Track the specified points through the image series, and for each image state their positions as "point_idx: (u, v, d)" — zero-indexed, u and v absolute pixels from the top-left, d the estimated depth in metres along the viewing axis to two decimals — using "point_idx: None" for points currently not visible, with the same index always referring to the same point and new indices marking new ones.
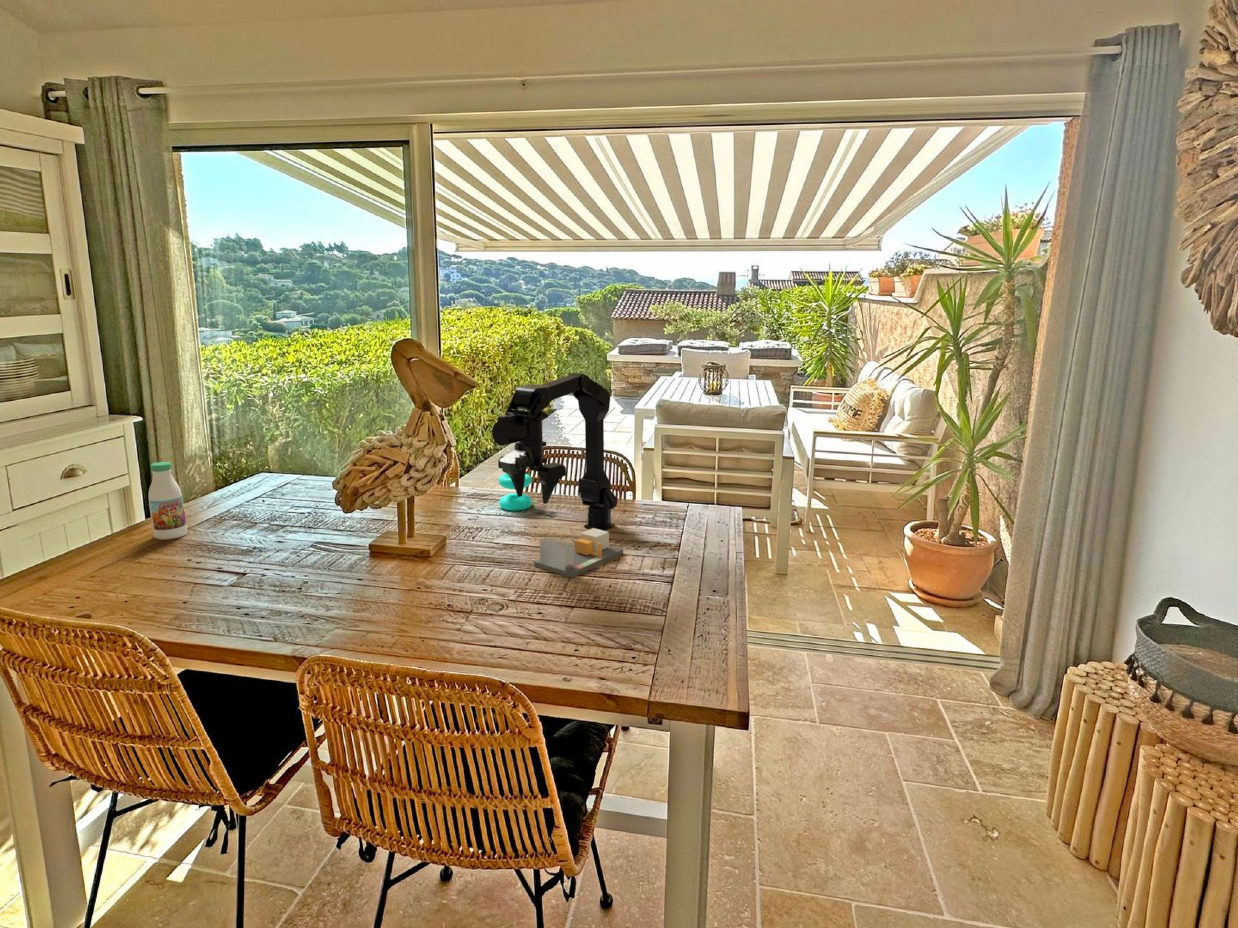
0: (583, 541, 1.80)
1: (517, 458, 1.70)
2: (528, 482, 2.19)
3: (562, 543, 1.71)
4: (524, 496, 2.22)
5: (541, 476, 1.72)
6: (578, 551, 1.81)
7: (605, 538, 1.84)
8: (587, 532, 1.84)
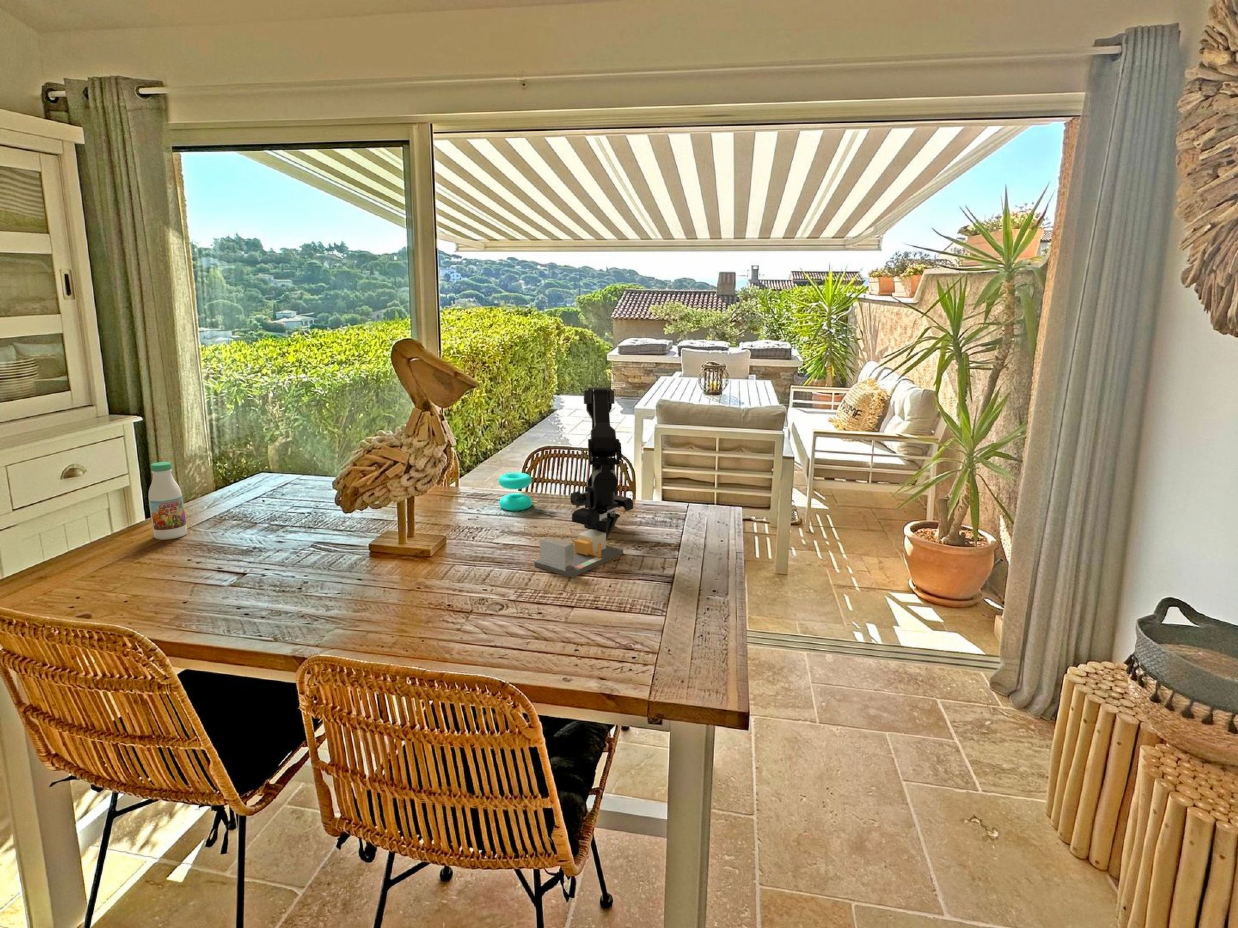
0: (582, 541, 1.80)
1: None
2: (528, 482, 2.19)
3: (562, 543, 1.71)
4: (524, 496, 2.22)
5: None
6: (578, 552, 1.81)
7: (602, 539, 1.83)
8: (584, 533, 1.83)
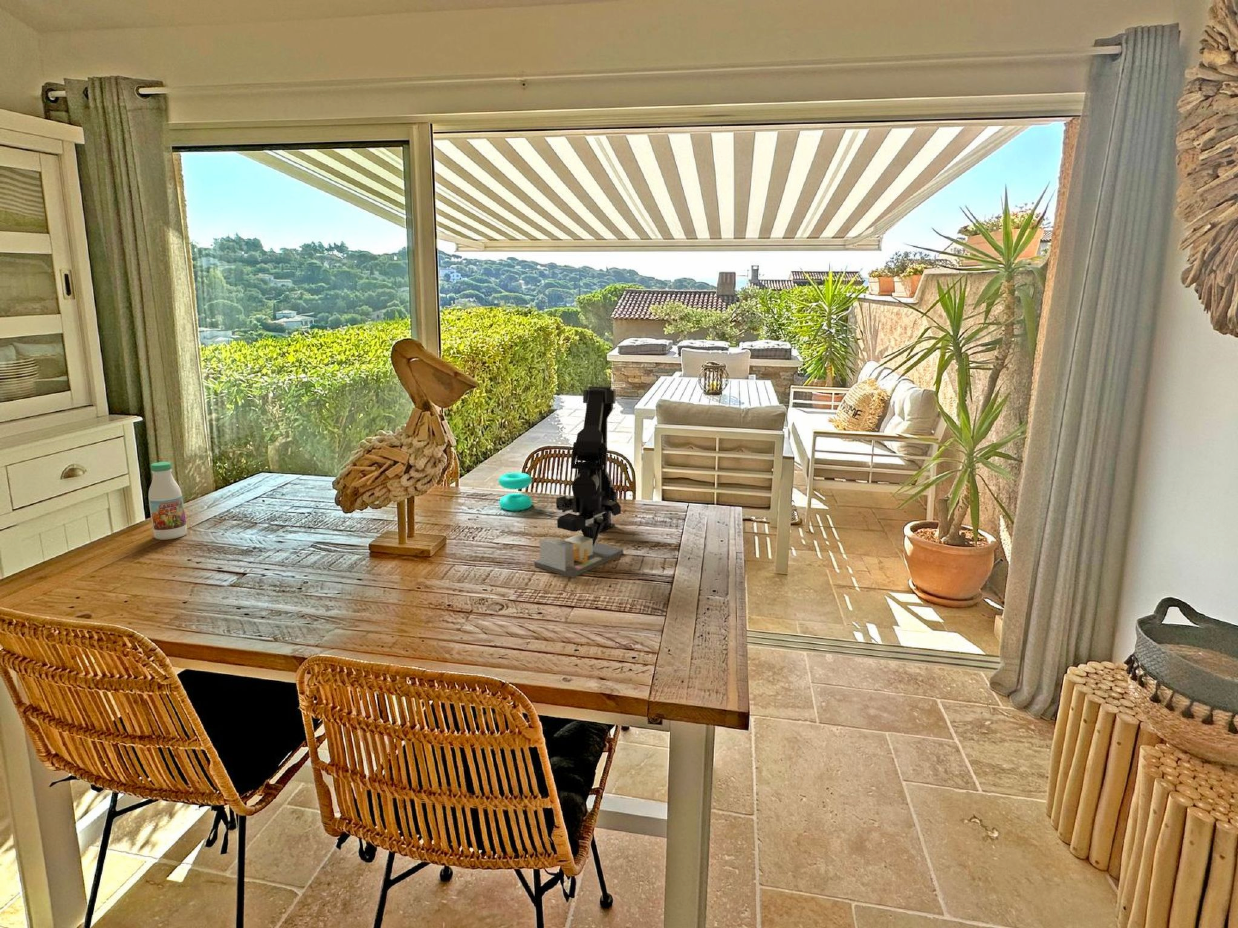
0: None
1: None
2: (528, 482, 2.19)
3: (562, 543, 1.71)
4: (524, 496, 2.22)
5: None
6: None
7: (589, 545, 1.79)
8: (570, 539, 1.79)
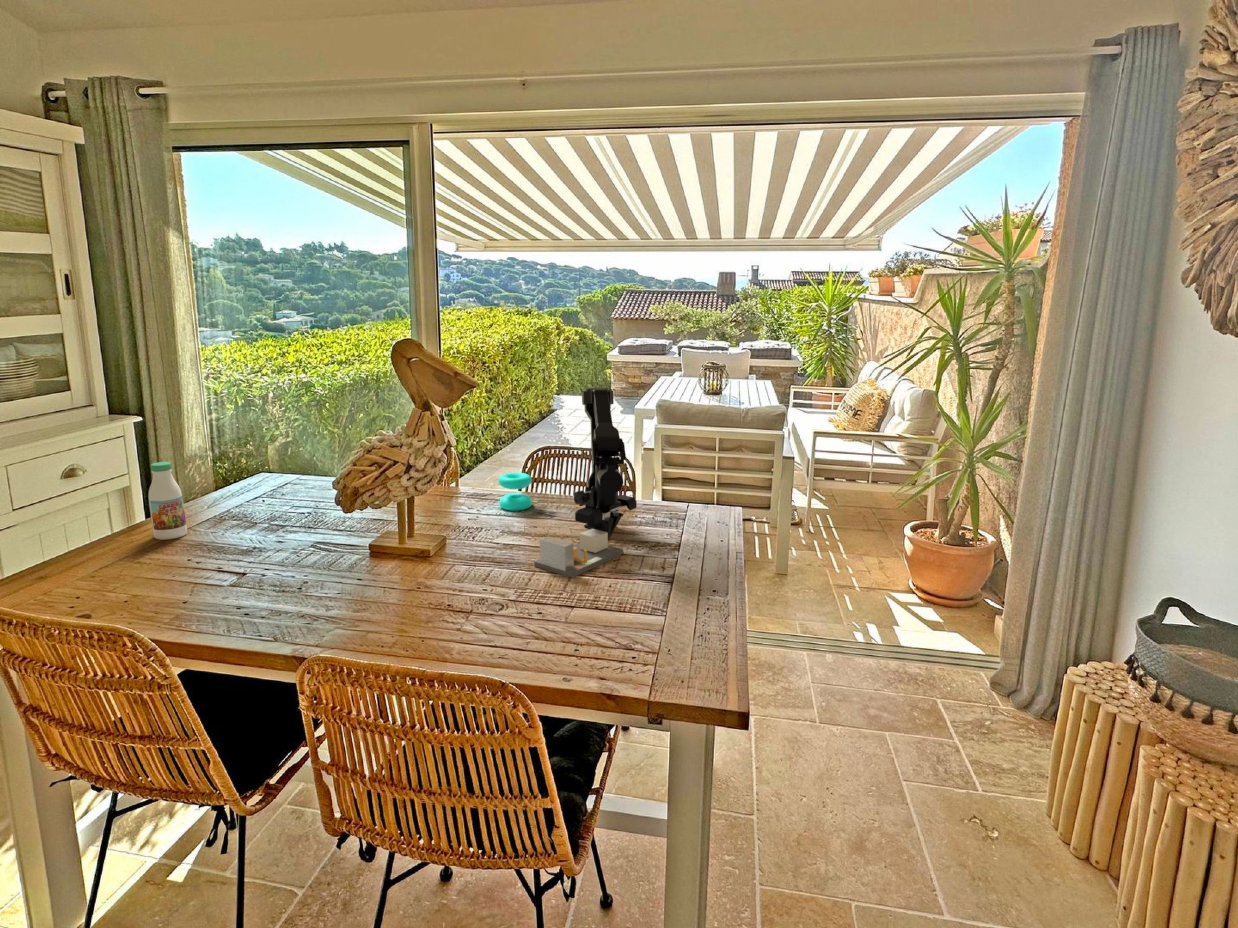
0: None
1: None
2: (528, 482, 2.19)
3: (562, 543, 1.71)
4: (524, 496, 2.22)
5: None
6: None
7: (604, 539, 1.83)
8: (586, 533, 1.83)
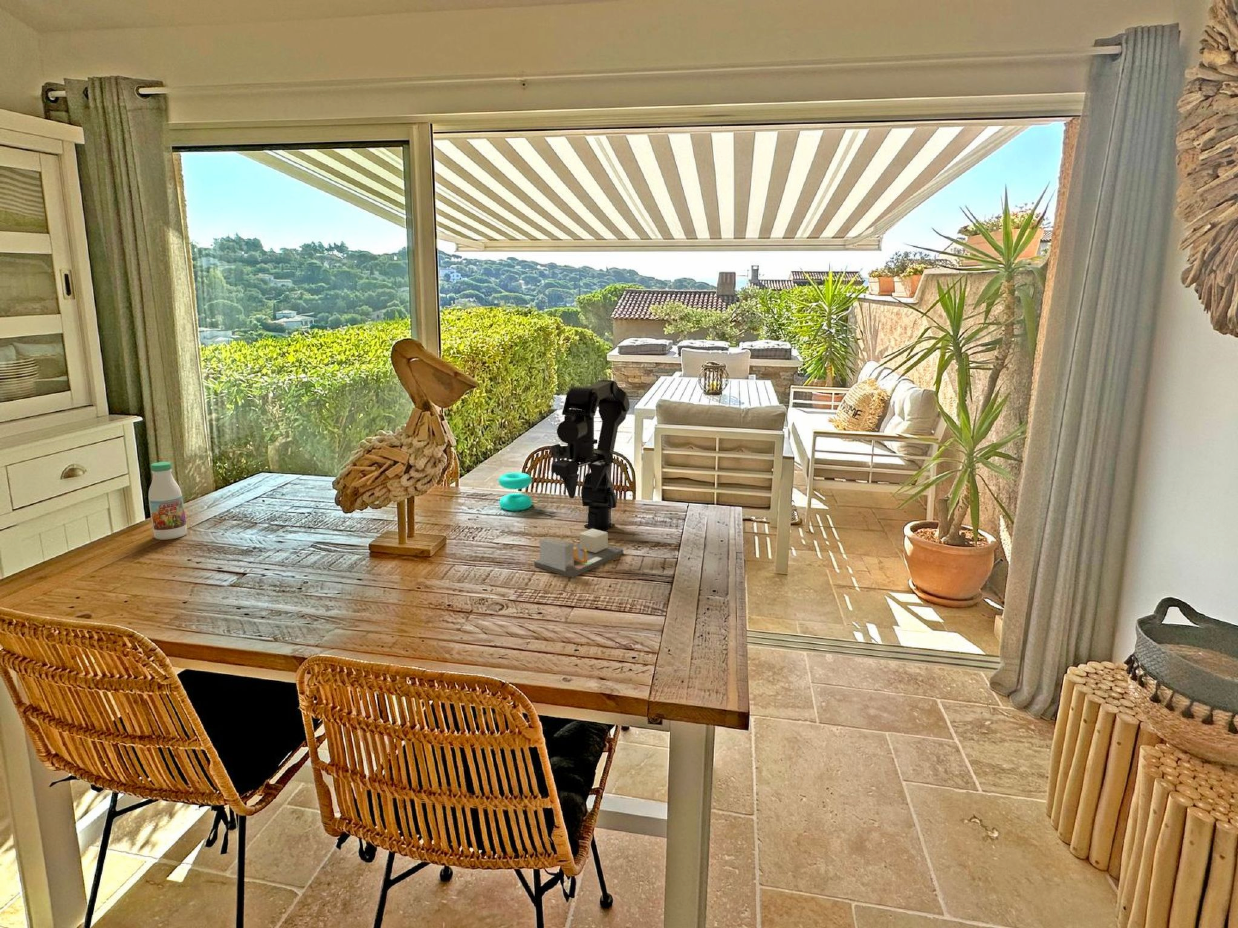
0: None
1: None
2: (528, 482, 2.19)
3: (562, 543, 1.71)
4: (524, 496, 2.22)
5: None
6: None
7: (604, 539, 1.83)
8: (586, 533, 1.83)
